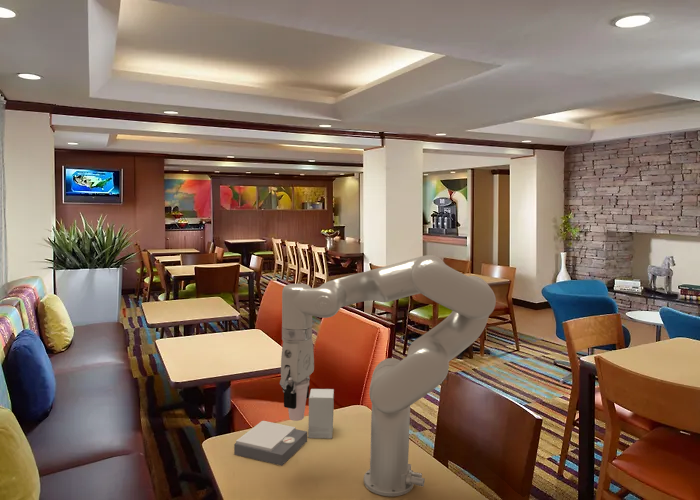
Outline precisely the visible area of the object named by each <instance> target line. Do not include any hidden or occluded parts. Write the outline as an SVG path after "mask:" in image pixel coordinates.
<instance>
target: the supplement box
mask: <svg viewBox="0 0 700 500" xmlns="http://www.w3.org/2000/svg"><path fill="white" fill-rule="evenodd" d="M334 392H335V389H334V388H311V389H310V390H309V397H308V427H307V428H308V430H307V439H308V438H309V439H333V431H334V430H333V428H334V408H335V407H334V406H335V405H334V402H335V401H334V399H335V393H334Z"/></svg>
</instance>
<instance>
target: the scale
mask: <svg viewBox="0 0 700 500" xmlns="http://www.w3.org/2000/svg"><path fill="white" fill-rule="evenodd" d="M307 442H308V430H307V431H306V430H301V429H297V428H296V427H295V426H291V425H286V424H281V423H276V422H272V421H266V420H261V421H259V423H257V424H256V425H255V426H254V427H252V428H250V429H249V430H248V431H247V432H246V433H244V434H243V435H242V436H240V437H239V438H237V439H236V440H235V443H234V444H233V445H234V446H233V449H234V450H233V451H234V454H233V455H235V456H239V457H244V458H248V459H252V460H256V461H261V462H265V463H268V464H272V465H277V466H282V467H283V465H284V464H286V463H287V462H288V461H289V460H290V459H291V458H292V457H293V456H294V455H295V454H296V453H297V452H298V451H299V450H300V449H301V448H302V447H303V446H304V445H305V444H306V443H307Z"/></svg>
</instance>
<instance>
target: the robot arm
mask: <svg viewBox="0 0 700 500" xmlns="http://www.w3.org/2000/svg"><path fill="white" fill-rule="evenodd" d="M281 291H282V294H281V322H282V323H281V340H282V346H281V347H282V348H281V356H280V357H281V360H280V380H279V385H280V386H281V388H282V389H281V390H282V392H283V407H284V408H285V409H286V408H287V409H288V408H291V409H295V408H296V393H295V388H296V383H299V382H301V381H302V380H304V379H305V378H307V379H308V380H309V382H310V379H311V378H310V376H311V374H312V373H314V370H315V358H314V357H315V356H314V354H315V353H314V343H313V342H314V341H313V317H318V318H320V319H321V318H323V319H328V318H332V317H334V316H335V315H336V314H337V313H338V312H339V311H340V309H341V308H343V307H346V306H350V305H353V304H358V303H361V302H362V303H363V302H368V301H371V302H373V301H374V302H379V303H389V302H393V301H396V300H400V299H403V298H404V299H405V298H406V297H407V298H408V297H410V296H411V297H412V296H414V295H423V296H425V297H426V298H428V299H430V300H431V301H433V302H435V303H437V304H439V305H440V306H443V307H445V308H446V309H449V310H451V313H450V314H449V315H447V317H446V318H444V319H443V320H442V321H441V322H439V323H438V324H437V325H436V326H434V327H432V328H431V329H429V330H428V331H427V332H425V333H424V334H422V335H421V336H419V337H417V338H416V339H415V340H413V341H412V342H411V344H410V345H409V346H408V350H407V356H405V357H404V358H403V359H401V360H400V359H398V358H394V357H393V358H392V357H390V358H389V357H388V358H385V359H383V360H381V361H380V362H379V363H378V364H377V365H376V366H375V368H374V369H373V373H372V375H371V381H370V385H369V394H368V395H369V399H370V402H371V419H370V420H371V422H370V424H371V425H370V458H369V460H370V461H369V469H368V470H367V471H366V472H365V473H364V474H363V485H364V486H365V488H367V490H369V491H370V492H372V493H373V494H376V495H379V496H381V497H382V496H383V497H399V496H404V495H405V494H407V493H409V492H411V491H412V489H413V487H414V485H415V486H419V487H422V488H423V487H424V486H425V479H426V478H424V477H423V474H422V473H421V472H415V471H413V470H412V464H410V463H409V446H410V444H409V443H410V423H411V421H410V420H411V419H410V418H411V406H412V405H413V404H415V403H416V402H418V401H419V400H421V399H422V398H423V397H425V396H427V395H428V394H429V393H431V392H432V391H434V390H435V389H436V388H438V387H439V386H440V385H441V384H442V383H443V382H444V380H445V379H446V377H447V375H448V373H449V369H450V361H452V360H453V359H454V358H456V357H457V356H458V355H460V354H462V352H463V351H465V350H466V349H467V348H469V347H470V346H471V345H472V344H473V343H474V342H476V340H478V339H479V337H480V336H481V335H482V333H483V331H484V330H485V328H486V326H487V323H488V321H489V318H490V317H489V316H490V315H492V313H493V312H494V310H495V307H496V303H497V302H496V301H497V299H496V295H495V293H494V290H493V288H492V287H491V286H490V285H489V284H488V283H487V281H485V280H484V279H483V278H482V277H479V276H476V275H466V274H464V273H462V272H460V271H458V270H456V269H454V268H453V267H452V266H451V267H450V266H449V265H448V264H446V263H445V261H444V260H443V259H441V258H440V257H439V256H437V255H432V254H426V255H421V256H418V257H415V258H411V259H407V260H403V261H400V262H396V263H393V264H389V265H386V266H381V267H377V268H374V269H369V270H367V271H362V272H358V273H353V274H350V275H347V276H346V275H345V276H342V277H339V278H335V279H331V280H329V281H326V282H324V283H323V284H321V285H319V286H318V287H313V288H312V287H311V286H310V285H309V284H305V283H289V284H286V285H285V286H284V287H283V288H282V290H281ZM289 378H292V380H288V379H289ZM288 382H291V383H292V387H291V386H290V385H288ZM309 396H310V385H309V386H308V389H307V397H306V400H307V399H309Z"/></svg>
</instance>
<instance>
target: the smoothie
mask: <svg viewBox="0 0 700 500" xmlns="http://www.w3.org/2000/svg"><path fill="white" fill-rule="evenodd" d="M288 380H292V378H291V377H290V378H289V379H288ZM288 385H290V386H291V387H292V383H291V382H288ZM308 386H309V387H310V381H309V380H308V379H307V378H305V379H304V380H302V381H301V382H299V383H296V388H295V393H296V408H295V409H291V408H287V411H288V418H289V419H290V421H293V422H298V421H302V420H303V419H304V418H305V410H306V403H307V399H306V397H307V389H308Z"/></svg>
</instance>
